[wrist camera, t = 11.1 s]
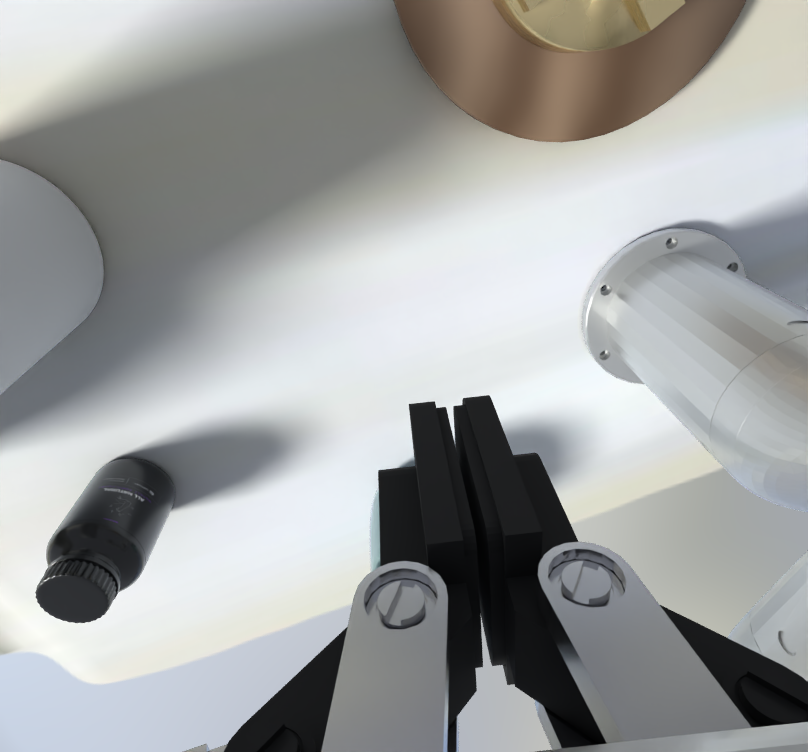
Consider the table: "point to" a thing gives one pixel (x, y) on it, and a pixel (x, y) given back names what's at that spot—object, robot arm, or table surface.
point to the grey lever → (584, 21)
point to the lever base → (558, 67)
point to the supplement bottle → (105, 539)
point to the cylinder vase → (41, 269)
